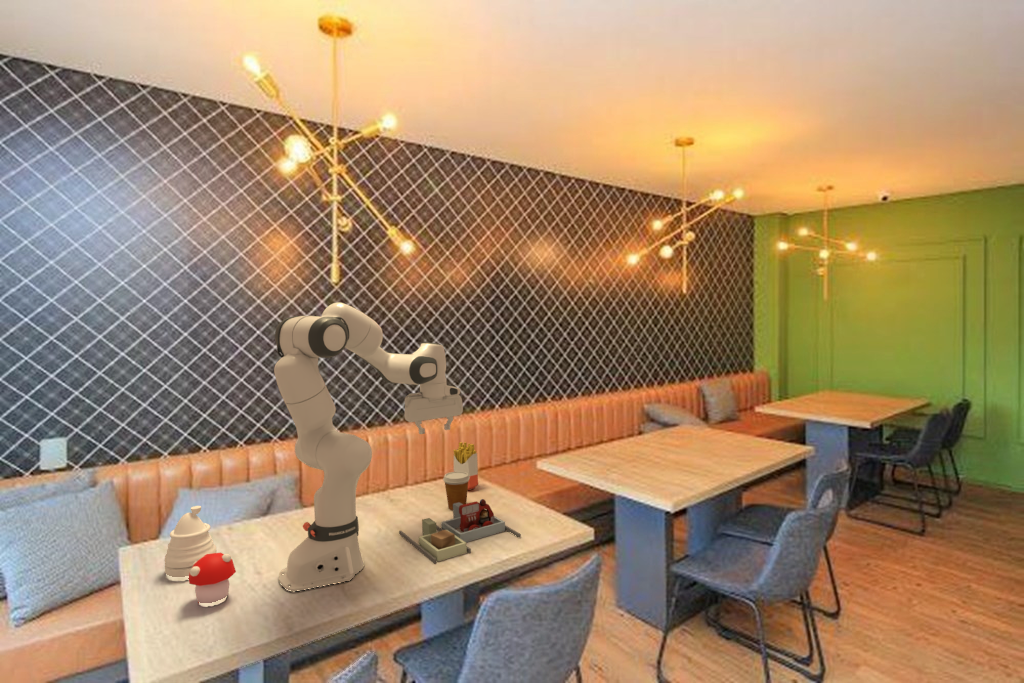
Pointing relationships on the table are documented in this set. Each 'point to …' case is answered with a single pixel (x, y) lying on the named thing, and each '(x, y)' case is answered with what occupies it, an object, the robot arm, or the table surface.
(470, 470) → the french fries container
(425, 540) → the cube lane
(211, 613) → the table surface
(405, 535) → the lane rails
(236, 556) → the table surface
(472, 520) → the toy fire truck
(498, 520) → the grey open rectangular tray
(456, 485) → the disposable coffee cup
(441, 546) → the walnut cube
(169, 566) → the honey pot
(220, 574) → the mushroom
